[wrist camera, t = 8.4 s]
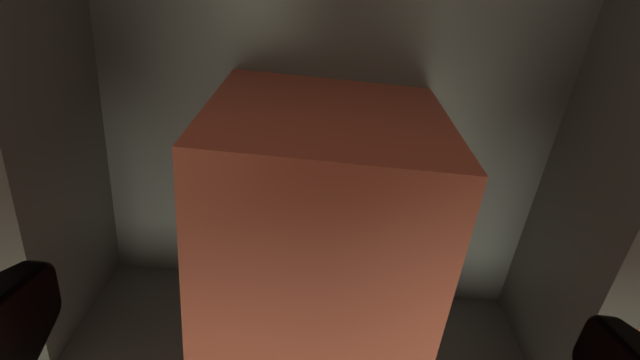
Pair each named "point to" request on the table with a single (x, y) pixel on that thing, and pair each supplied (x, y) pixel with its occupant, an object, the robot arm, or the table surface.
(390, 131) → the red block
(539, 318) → the tote
